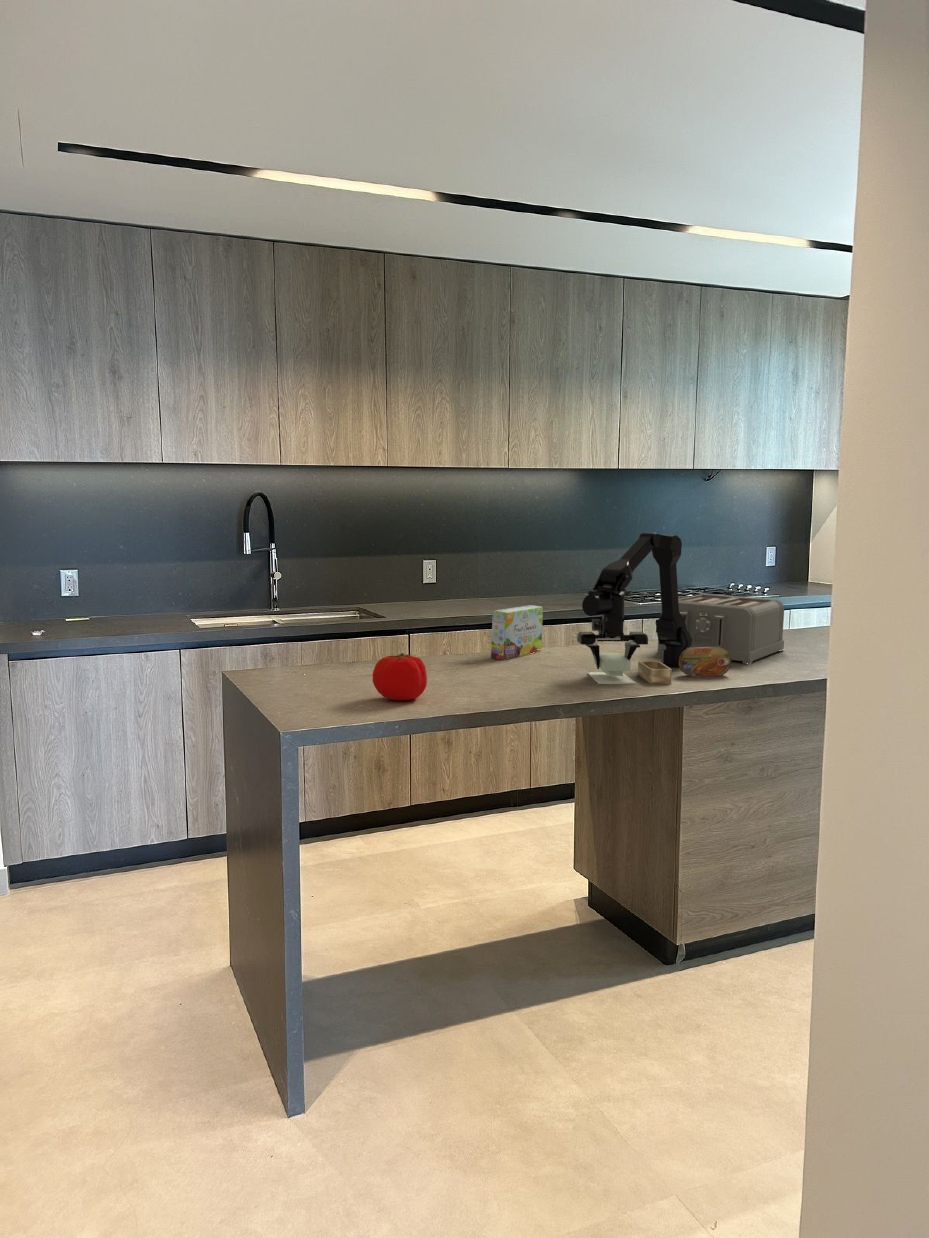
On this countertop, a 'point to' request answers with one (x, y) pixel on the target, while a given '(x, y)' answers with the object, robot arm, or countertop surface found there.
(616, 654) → the pale green block
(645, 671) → the crate
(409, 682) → the tomato
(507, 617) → the snack box
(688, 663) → the tin
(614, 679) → the mat
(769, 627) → the toaster
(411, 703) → the countertop surface
